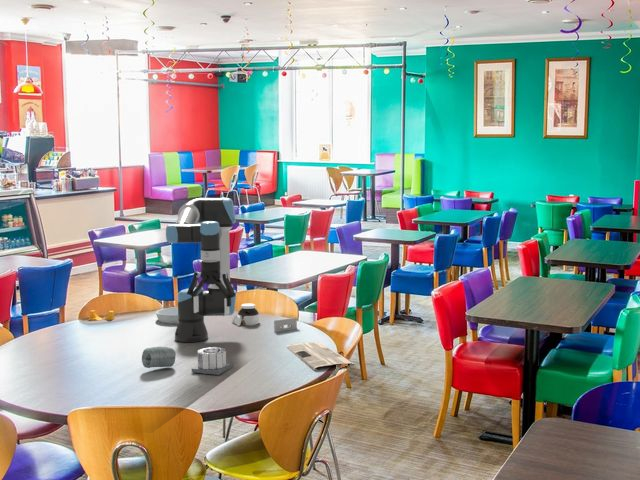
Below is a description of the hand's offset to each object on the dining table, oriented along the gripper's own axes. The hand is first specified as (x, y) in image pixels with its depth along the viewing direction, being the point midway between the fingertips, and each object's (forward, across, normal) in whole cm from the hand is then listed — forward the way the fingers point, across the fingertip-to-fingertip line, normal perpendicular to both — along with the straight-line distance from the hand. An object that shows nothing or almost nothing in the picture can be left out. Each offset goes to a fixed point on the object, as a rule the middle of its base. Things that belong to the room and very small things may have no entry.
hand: (211, 313), depth 304 cm
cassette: (+23, +7, +63) cm, 67 cm away
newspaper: (+24, +36, +29) cm, 52 cm away
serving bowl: (+24, -54, +68) cm, 89 cm away
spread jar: (+24, -17, +69) cm, 75 cm away
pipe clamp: (+24, -91, +56) cm, 110 cm away
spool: (+23, -22, -8) cm, 33 cm away
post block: (+23, 0, -1) cm, 23 cm away
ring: (+21, 0, -1) cm, 21 cm away
